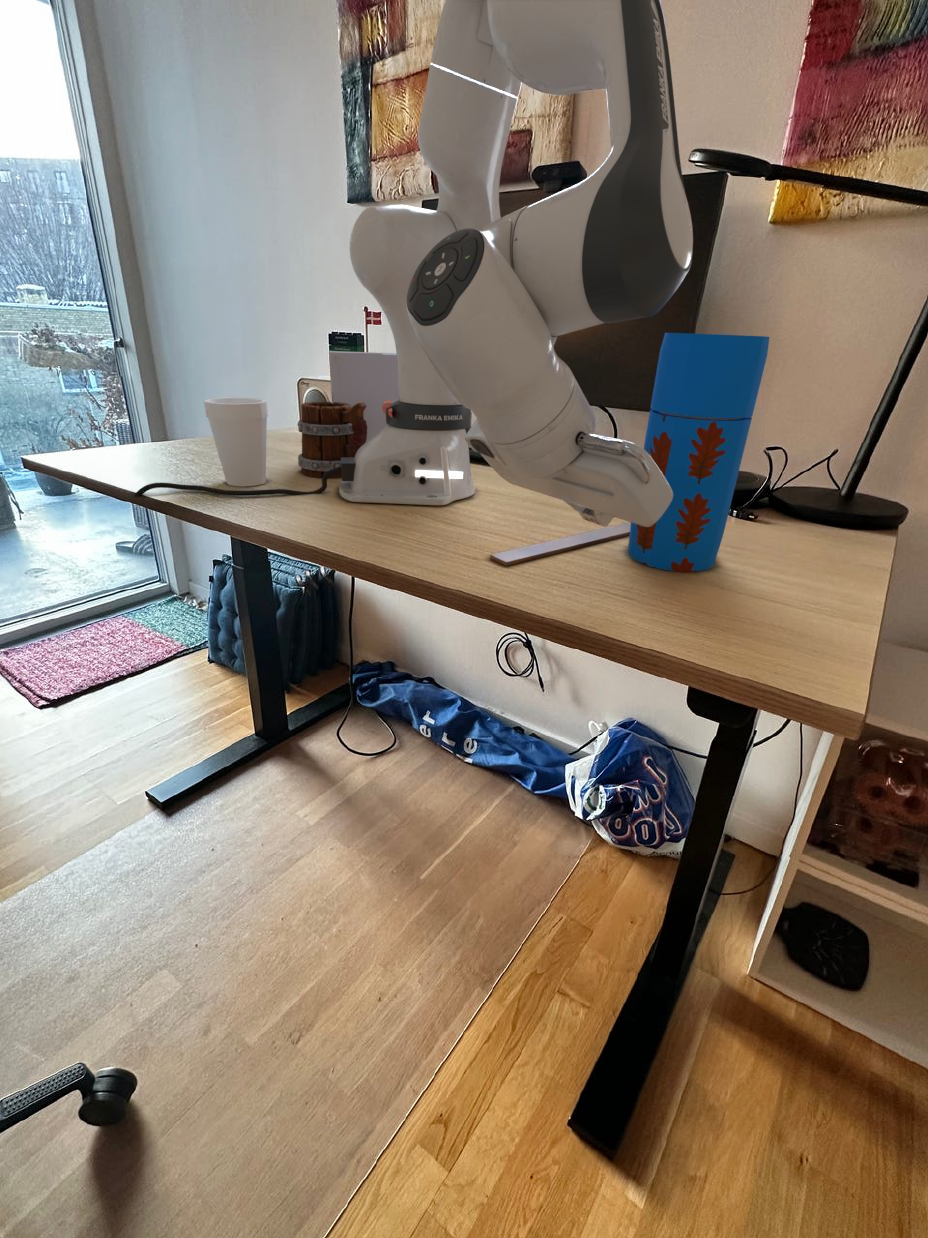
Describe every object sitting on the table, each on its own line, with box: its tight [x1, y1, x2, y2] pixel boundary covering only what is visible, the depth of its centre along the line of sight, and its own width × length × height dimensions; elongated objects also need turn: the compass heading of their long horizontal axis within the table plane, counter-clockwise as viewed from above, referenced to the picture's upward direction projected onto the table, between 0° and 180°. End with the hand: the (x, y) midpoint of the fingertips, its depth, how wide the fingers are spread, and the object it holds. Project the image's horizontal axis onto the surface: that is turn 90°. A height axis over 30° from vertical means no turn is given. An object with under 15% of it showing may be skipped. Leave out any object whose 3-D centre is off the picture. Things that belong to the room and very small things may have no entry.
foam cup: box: [203, 397, 269, 487], centre depth 96 cm, size 10×9×13 cm
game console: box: [328, 350, 399, 442], centre depth 118 cm, size 6×27×20 cm, turn 106°
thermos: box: [627, 332, 770, 573], centre depth 67 cm, size 11×11×25 cm
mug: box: [297, 401, 368, 479], centre depth 104 cm, size 12×14×15 cm
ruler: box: [489, 521, 631, 567], centre depth 77 cm, size 30×3×1 cm, turn 127°
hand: (599, 518), depth 61 cm, fingers closed
